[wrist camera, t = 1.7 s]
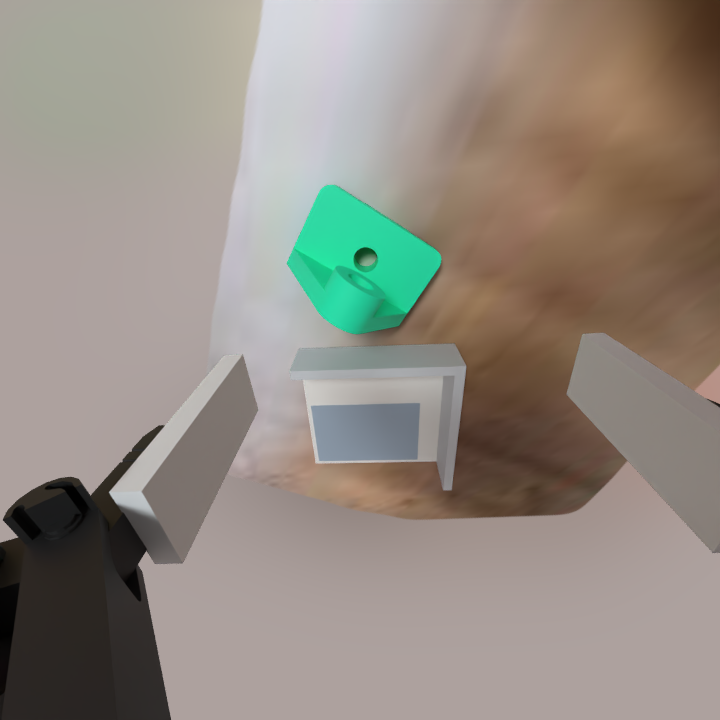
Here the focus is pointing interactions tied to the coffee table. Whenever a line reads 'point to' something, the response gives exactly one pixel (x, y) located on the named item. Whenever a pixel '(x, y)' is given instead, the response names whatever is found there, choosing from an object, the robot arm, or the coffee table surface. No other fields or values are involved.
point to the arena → (384, 403)
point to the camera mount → (350, 279)
